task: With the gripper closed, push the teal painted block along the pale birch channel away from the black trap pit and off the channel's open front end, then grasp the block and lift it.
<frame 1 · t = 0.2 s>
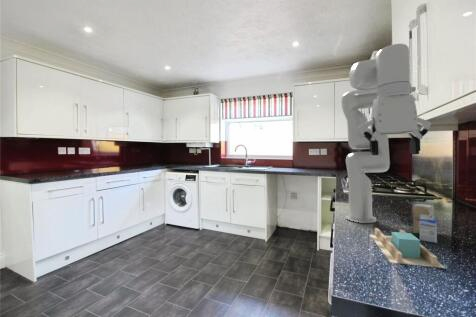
hand: (394, 154, 61), 30 cm above the counter, tool pointing down, fingers open, 9 cm apart
medicine box: (428, 242, 76), on the counter
block: (405, 252, 65), point 1 cm above the counter, touching channel
box: (423, 235, 83), on the counter
channel: (400, 252, 69), on the counter
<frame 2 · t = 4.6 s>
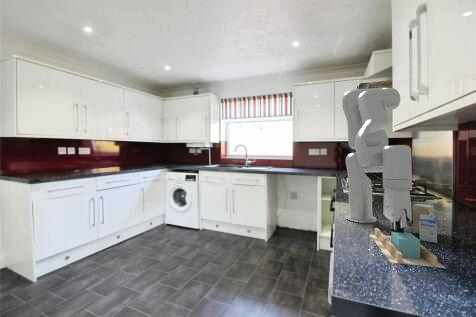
hand: (398, 242, 70), 3 cm above the counter, tool pointing down, fingers closed
block: (405, 252, 65), point 1 cm above the counter, touching channel, gripper
everything else where it was.
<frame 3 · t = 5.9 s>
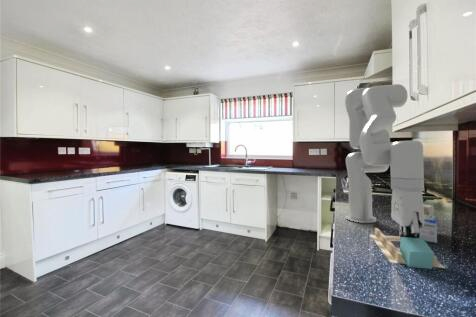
hand: (408, 248, 63), 4 cm above the counter, tool pointing down, fingers closed
block: (414, 260, 60), point 2 cm above the counter, tilted 16°, touching channel, gripper
everything else where it was.
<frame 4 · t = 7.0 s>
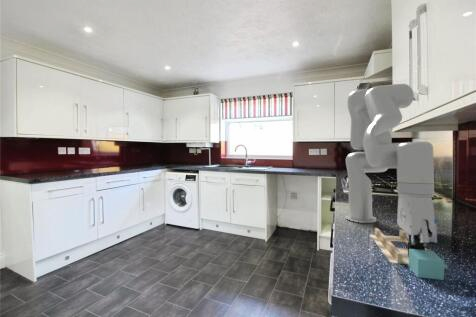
hand: (416, 258, 58), 3 cm above the counter, tool pointing down, fingers closed
block: (420, 261, 56), point 3 cm above the counter, tilted 95°, touching gripper
everything else where it was.
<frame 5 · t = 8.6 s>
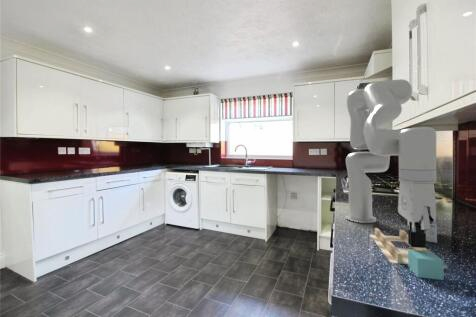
hand: (416, 246, 58), 7 cm above the counter, tool pointing down, fingers closed
block: (419, 262, 57), point 3 cm above the counter, tilted 90°
everything else where it was.
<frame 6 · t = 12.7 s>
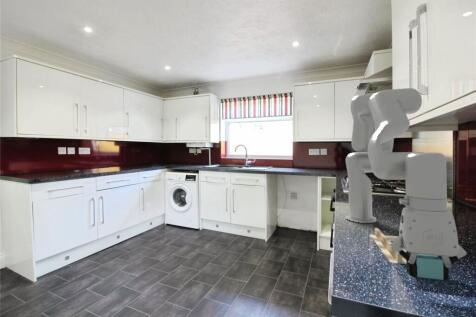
hand: (427, 279, 53), 0 cm above the counter, tool pointing down, fingers closed on block, 5 cm apart
block: (419, 262, 57), point 3 cm above the counter, tilted 90°, touching gripper
everything else where it was.
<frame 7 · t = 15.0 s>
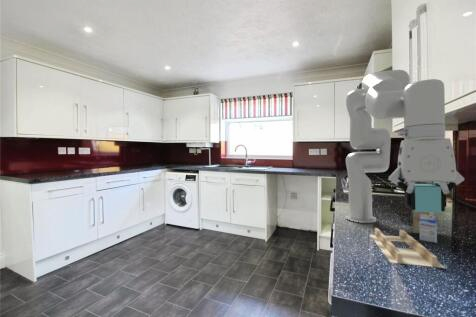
hand: (424, 208, 54), 17 cm above the counter, tool pointing down, fingers closed on block, 5 cm apart
block: (418, 195, 57), point 20 cm above the counter, tilted 90°, touching gripper
everything else where it was.
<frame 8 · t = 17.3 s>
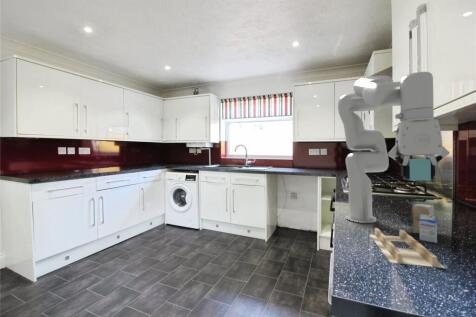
hand: (417, 178, 65), 23 cm above the counter, tool pointing down, fingers closed on block, 5 cm apart
block: (412, 168, 69), point 26 cm above the counter, tilted 90°, touching gripper
everything else where it was.
at the end: block point 25.9 cm above the counter; the gripper is holding block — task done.
